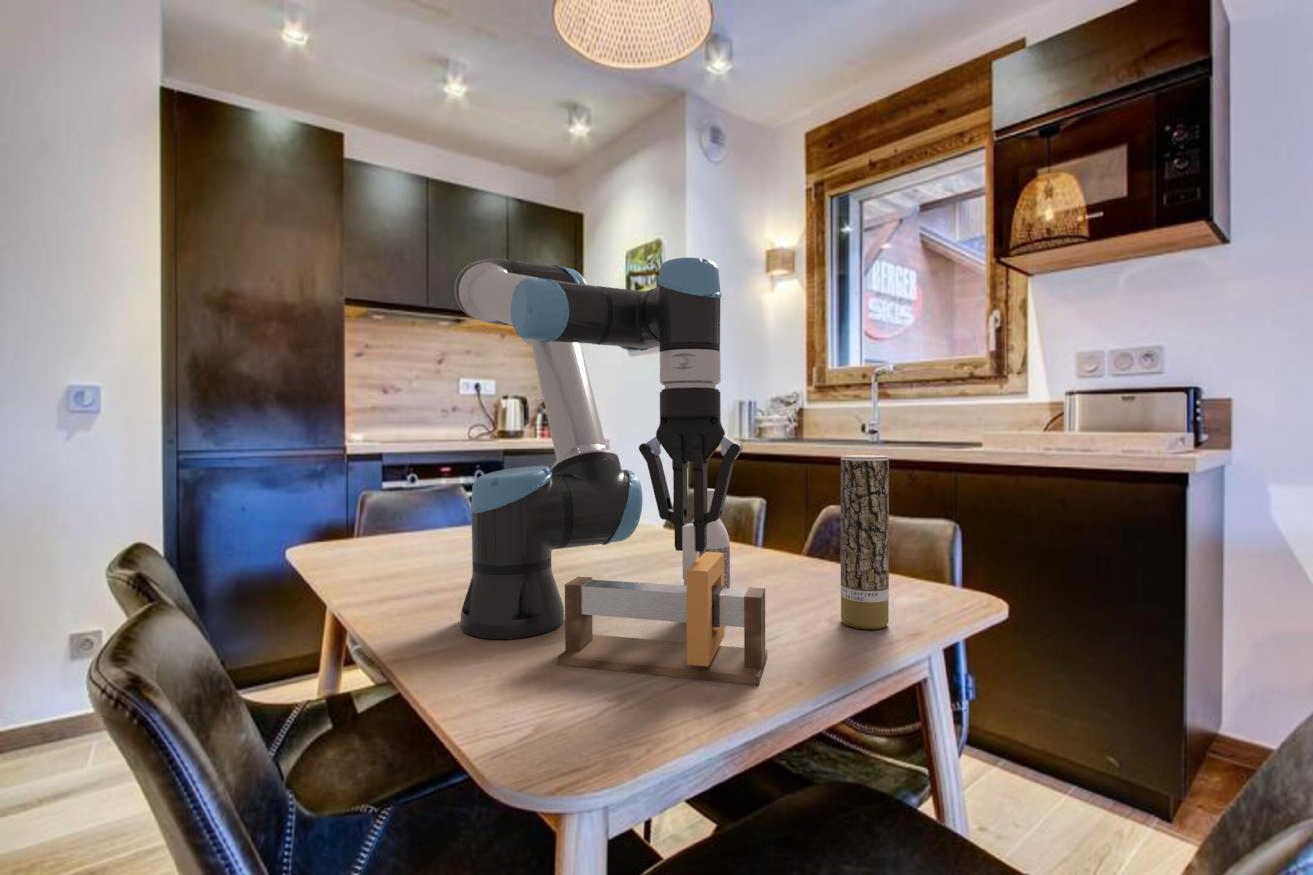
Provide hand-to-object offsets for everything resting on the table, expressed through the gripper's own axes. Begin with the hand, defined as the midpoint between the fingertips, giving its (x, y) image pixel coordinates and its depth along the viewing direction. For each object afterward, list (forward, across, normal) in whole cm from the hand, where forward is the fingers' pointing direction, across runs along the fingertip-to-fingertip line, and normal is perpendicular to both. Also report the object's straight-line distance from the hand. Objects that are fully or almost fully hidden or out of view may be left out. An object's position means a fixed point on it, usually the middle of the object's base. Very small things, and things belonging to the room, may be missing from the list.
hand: (690, 576), depth 80 cm
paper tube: (+11, +21, +22) cm, 33 cm away
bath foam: (+11, -2, +18) cm, 21 cm away
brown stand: (+11, -4, 0) cm, 11 cm away
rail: (+5, -4, 0) cm, 6 cm away
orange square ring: (+9, +2, 0) cm, 9 cm away
